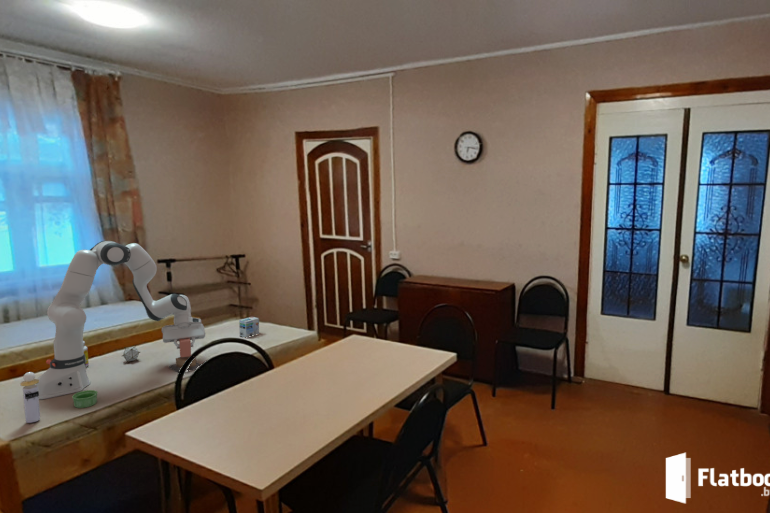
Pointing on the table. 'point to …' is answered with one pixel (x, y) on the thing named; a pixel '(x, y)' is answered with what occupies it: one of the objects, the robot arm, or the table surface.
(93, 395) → the ramekin
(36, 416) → the perfume bottle
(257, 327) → the light bulb box
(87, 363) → the supplement bottle
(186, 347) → the red block
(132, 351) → the game die
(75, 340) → the robot arm
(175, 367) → the tower base
